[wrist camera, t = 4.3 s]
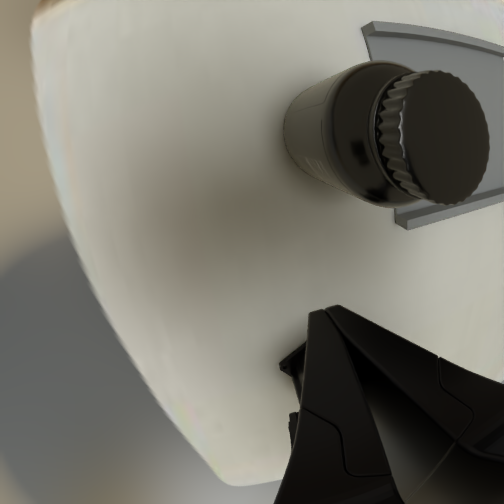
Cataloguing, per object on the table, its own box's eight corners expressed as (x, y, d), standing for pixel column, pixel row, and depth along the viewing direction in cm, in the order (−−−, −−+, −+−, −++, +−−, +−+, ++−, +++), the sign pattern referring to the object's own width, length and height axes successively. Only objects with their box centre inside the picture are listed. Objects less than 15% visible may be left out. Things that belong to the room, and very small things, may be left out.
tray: (395, 223, 22) (407, 230, 20) (361, 27, 15) (372, 21, 14) (514, 189, 22) (526, 194, 20) (498, 50, 15) (510, 49, 14)
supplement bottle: (383, 164, 20) (509, 206, 9) (300, 193, 20) (391, 268, 9) (356, 75, 17) (481, 43, 6) (266, 98, 17) (334, 51, 6)
